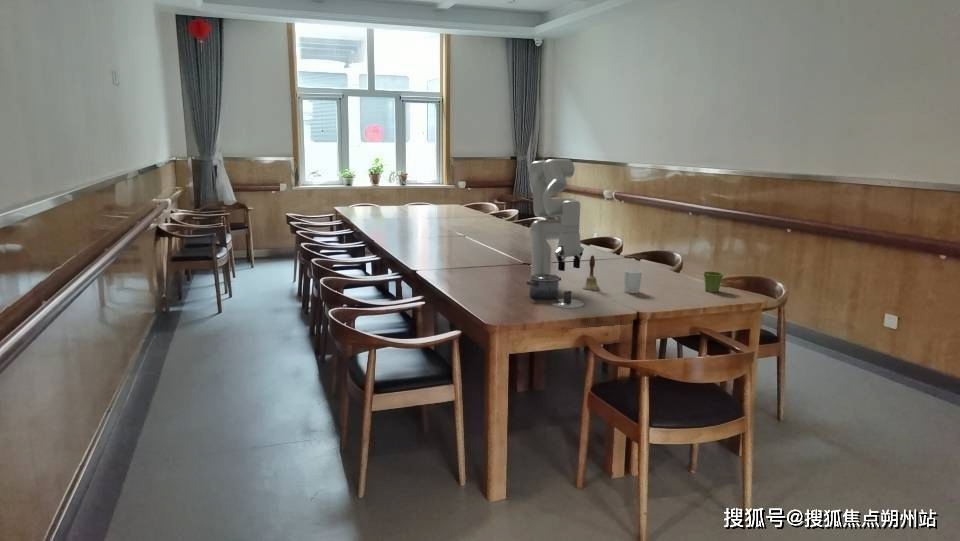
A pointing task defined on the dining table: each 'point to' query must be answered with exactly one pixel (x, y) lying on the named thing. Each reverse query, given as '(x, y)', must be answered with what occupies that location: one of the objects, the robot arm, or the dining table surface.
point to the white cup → (632, 281)
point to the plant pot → (712, 281)
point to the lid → (567, 301)
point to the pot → (543, 286)
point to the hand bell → (591, 277)
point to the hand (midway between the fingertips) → (569, 269)
